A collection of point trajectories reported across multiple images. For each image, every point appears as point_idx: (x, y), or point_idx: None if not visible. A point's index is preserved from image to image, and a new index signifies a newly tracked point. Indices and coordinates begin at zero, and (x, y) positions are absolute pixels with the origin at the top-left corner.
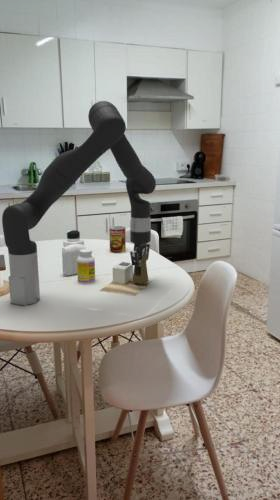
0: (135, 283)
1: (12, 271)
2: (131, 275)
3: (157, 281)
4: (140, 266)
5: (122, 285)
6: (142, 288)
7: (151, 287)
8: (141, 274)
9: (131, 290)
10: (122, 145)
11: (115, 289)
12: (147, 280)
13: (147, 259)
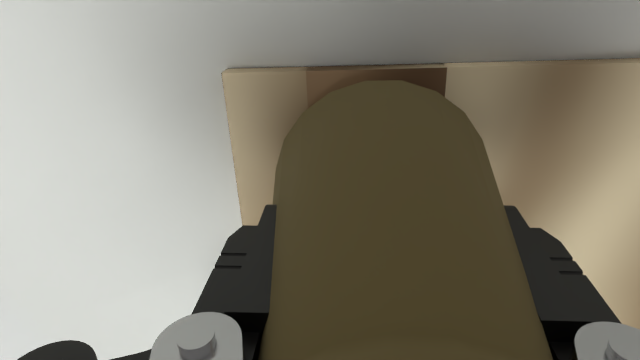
0: None
1: None
2: None
3: (149, 21)
4: (581, 319)
5: None
6: (537, 78)
7: (395, 3)
8: (495, 196)
9: (638, 172)
10: None
11: (630, 319)
12: (389, 86)
13: (86, 348)
